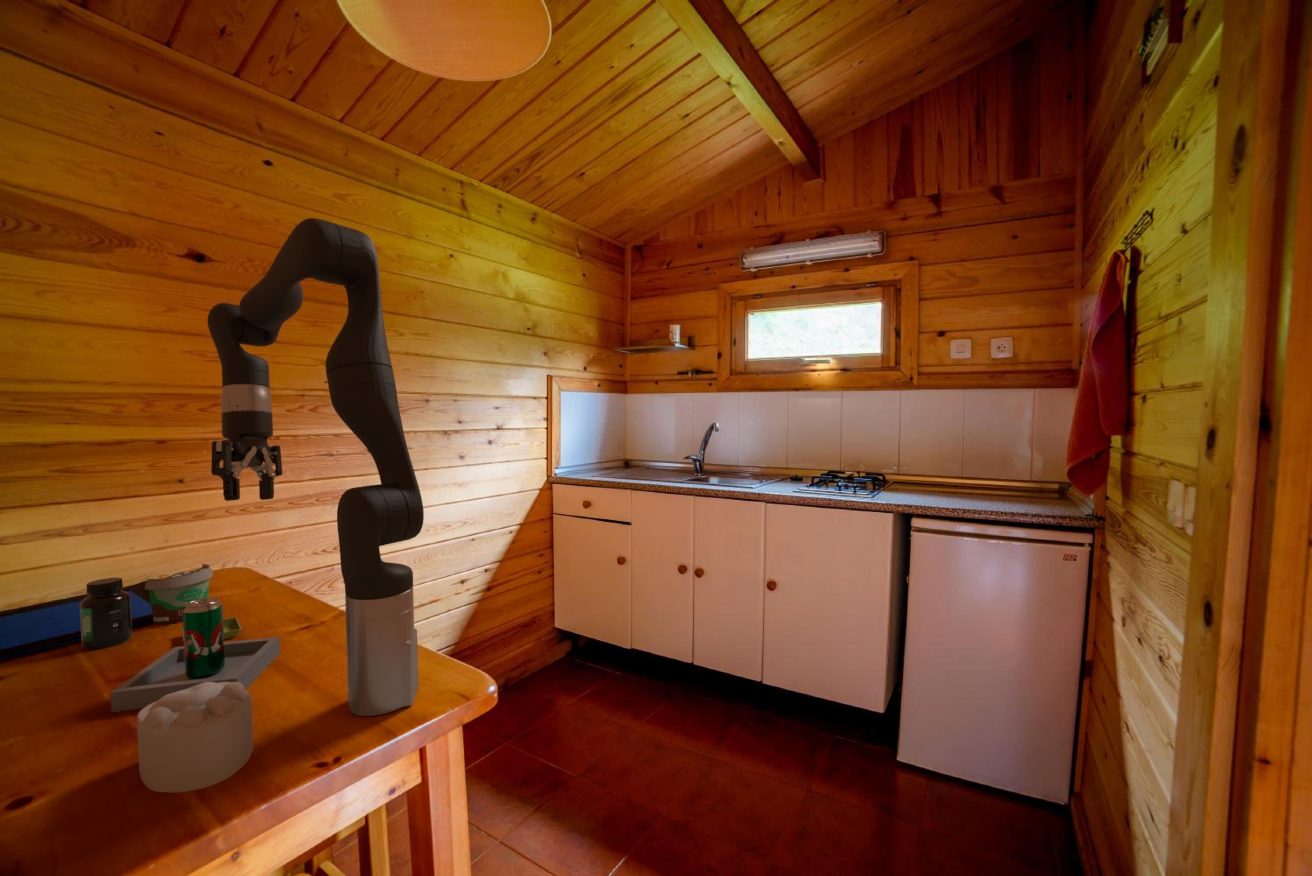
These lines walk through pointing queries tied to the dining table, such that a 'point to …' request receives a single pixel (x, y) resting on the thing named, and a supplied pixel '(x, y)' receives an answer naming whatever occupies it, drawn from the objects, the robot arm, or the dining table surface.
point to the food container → (177, 593)
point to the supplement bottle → (105, 614)
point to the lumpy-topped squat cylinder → (195, 737)
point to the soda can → (203, 638)
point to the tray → (170, 677)
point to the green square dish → (229, 628)
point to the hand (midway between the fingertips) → (250, 499)
